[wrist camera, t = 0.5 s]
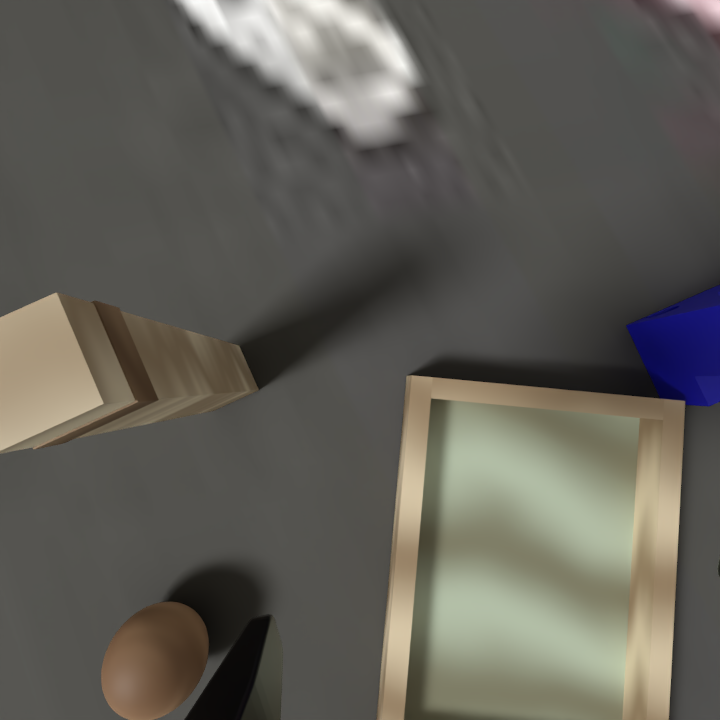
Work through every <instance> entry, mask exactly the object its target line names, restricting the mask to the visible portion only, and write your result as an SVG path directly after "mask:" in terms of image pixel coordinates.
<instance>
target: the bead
mask: <svg viewBox="0 0 720 720" xmlns="http://www.w3.org/2000/svg"><path fill="white" fill-rule="evenodd" d="M208 653H209V638H208V633H207V629H206V626H205V624H204V622H203V620H202V619H201V617H200V616H199V615H198V614H197V612H196V611H194V610H193V609H192V608H190V607H189V606H187V605H184V604H182V603H178V602H160V603H156V604H153V605H150V606H148V607H146V608H144V609H142V610H140V611H139V612H137V613H136V614H134V615H133V616H132V617H130V618H129V619H128V620H127V621H126V622H125V623H124V624H123V625H122V626H121V628H120V629H119V630H118V631H117V633H116V634H115V636H114V637H113V639H112V641H111V642H110V644H109V647H108V649H107V651H106V654H105V657H104V660H103V666H102V673H101V680H102V689H103V693H104V696H105V698H106V700H107V702H108V704H109V705H110V707H111V708H112V709H113V710H114V711H115V712H116V713H117V714H119V715H120V716H122V717H124V718H126V719H129V720H153V719H157V718H159V717H162V716H164V715H166V714H168V713H170V712H171V711H173V710H174V709H176V708H177V707H178V706H179V705H181V704H182V703H183V702H184V701H185V700H186V699H187V698H188V697H189V695H190V694H191V693H192V692H193V690H194V689H195V687H196V686H197V684H198V683H199V681H200V679H201V677H202V674H203V672H204V670H205V666H206V663H207V659H208Z"/></svg>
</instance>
